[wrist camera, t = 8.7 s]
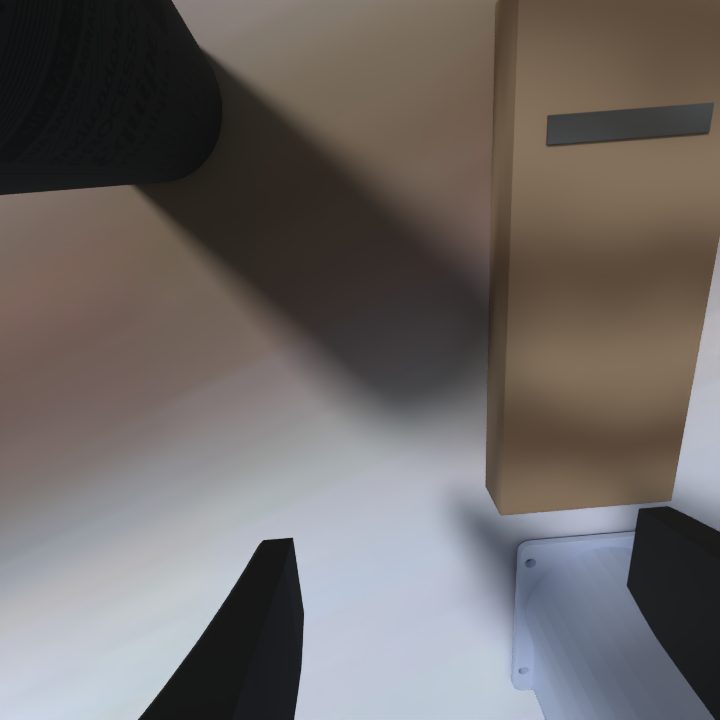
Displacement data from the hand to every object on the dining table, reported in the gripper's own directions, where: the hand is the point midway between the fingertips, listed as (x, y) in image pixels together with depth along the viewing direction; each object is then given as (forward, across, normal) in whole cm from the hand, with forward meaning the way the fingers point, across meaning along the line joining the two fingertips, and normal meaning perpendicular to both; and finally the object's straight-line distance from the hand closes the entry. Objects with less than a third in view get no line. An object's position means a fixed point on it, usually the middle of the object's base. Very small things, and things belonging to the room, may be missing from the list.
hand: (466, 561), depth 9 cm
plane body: (+9, -7, -4) cm, 12 cm away
